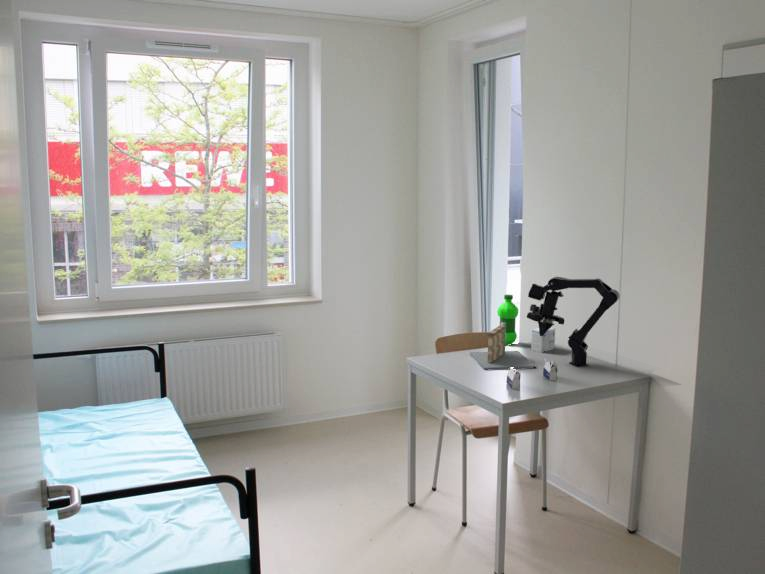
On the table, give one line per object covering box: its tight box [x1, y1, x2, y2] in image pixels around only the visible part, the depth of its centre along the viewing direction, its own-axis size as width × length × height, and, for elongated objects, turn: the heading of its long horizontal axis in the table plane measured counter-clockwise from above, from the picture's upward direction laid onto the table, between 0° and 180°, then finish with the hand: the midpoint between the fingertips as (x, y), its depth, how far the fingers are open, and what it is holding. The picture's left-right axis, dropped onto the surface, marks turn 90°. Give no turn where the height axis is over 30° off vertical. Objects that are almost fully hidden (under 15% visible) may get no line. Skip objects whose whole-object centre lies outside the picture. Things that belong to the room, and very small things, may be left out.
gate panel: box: [487, 325, 505, 362], centre depth 315 cm, size 17×3×13 cm, turn 152°
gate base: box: [469, 322, 537, 370], centre depth 315 cm, size 24×26×16 cm
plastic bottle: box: [497, 294, 519, 346], centre depth 346 cm, size 10×10×25 cm
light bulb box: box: [530, 327, 556, 353], centre depth 336 cm, size 11×7×11 cm, turn 130°
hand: (540, 335), depth 315 cm, fingers closed
